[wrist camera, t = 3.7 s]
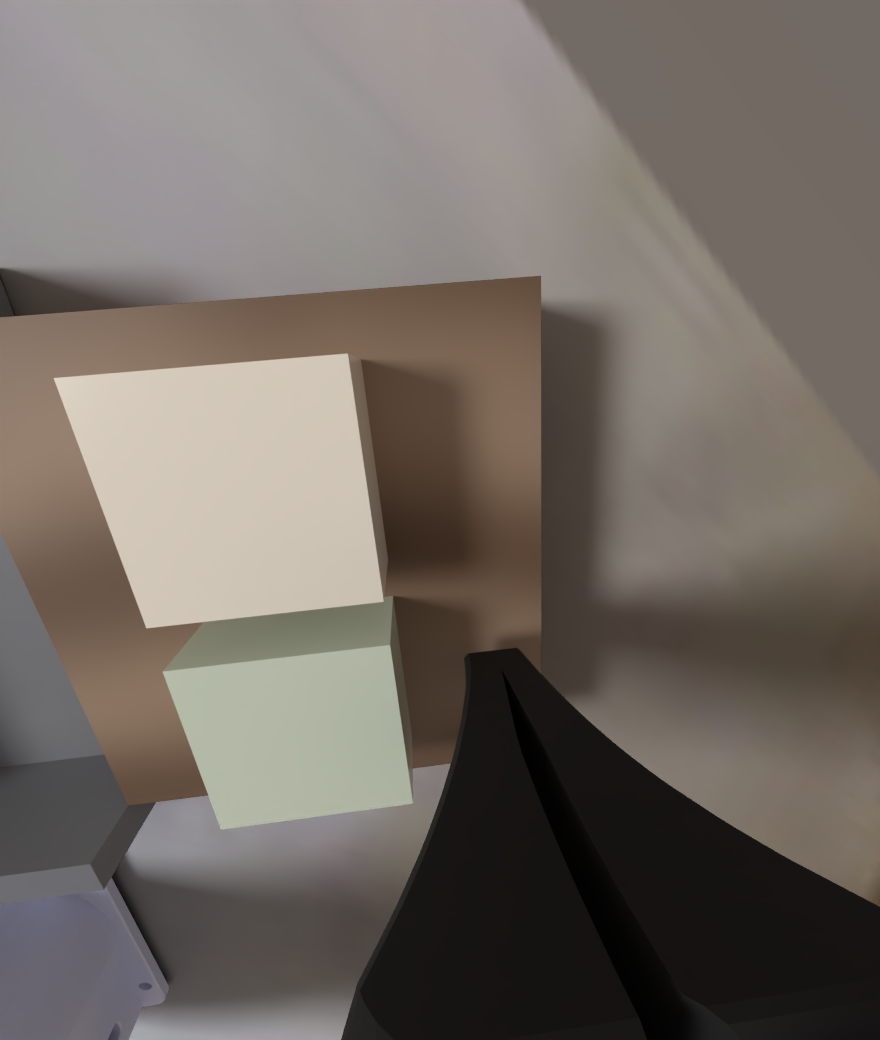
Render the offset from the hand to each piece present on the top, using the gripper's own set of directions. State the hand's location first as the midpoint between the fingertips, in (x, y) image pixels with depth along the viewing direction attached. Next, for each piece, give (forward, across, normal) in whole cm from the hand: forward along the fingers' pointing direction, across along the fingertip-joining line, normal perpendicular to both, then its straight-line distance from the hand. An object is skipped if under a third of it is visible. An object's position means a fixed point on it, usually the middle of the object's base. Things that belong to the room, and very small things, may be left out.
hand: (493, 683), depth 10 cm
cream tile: (+1, +4, -6) cm, 7 cm away
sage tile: (+1, +4, 0) cm, 5 cm away
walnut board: (+3, +4, -3) cm, 6 cm away
